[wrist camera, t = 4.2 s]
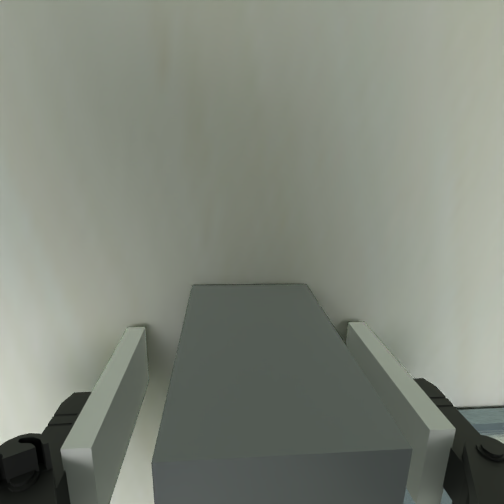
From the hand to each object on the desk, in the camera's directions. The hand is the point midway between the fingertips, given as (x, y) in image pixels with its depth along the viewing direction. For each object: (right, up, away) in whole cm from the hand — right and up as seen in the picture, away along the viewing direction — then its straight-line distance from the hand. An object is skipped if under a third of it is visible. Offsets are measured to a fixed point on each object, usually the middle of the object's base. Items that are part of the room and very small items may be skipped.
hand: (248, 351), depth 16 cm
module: (0, 0, 0) cm, 0 cm away
